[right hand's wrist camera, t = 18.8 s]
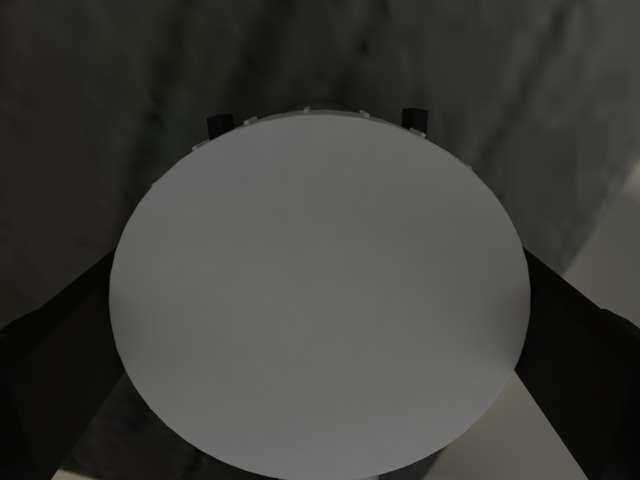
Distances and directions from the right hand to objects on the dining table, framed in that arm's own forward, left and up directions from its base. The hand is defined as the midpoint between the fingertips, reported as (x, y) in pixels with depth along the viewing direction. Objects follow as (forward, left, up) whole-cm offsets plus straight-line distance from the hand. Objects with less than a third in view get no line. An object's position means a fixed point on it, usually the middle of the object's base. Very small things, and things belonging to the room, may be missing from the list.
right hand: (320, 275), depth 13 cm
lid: (0, 0, +3) cm, 3 cm away
